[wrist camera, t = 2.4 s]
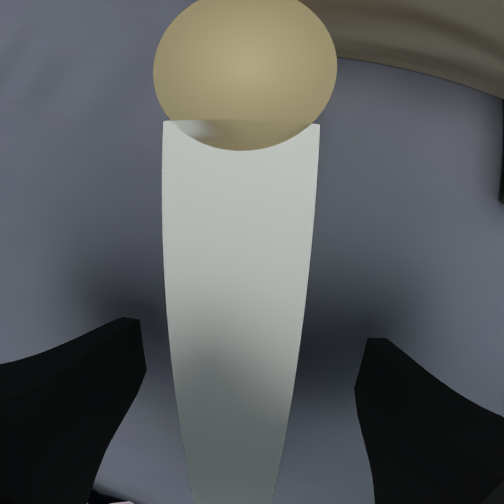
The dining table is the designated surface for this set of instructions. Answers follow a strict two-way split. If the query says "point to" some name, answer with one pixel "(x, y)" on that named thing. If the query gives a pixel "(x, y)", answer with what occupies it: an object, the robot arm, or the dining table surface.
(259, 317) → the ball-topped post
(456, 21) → the cabinet
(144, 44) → the dining table surface
